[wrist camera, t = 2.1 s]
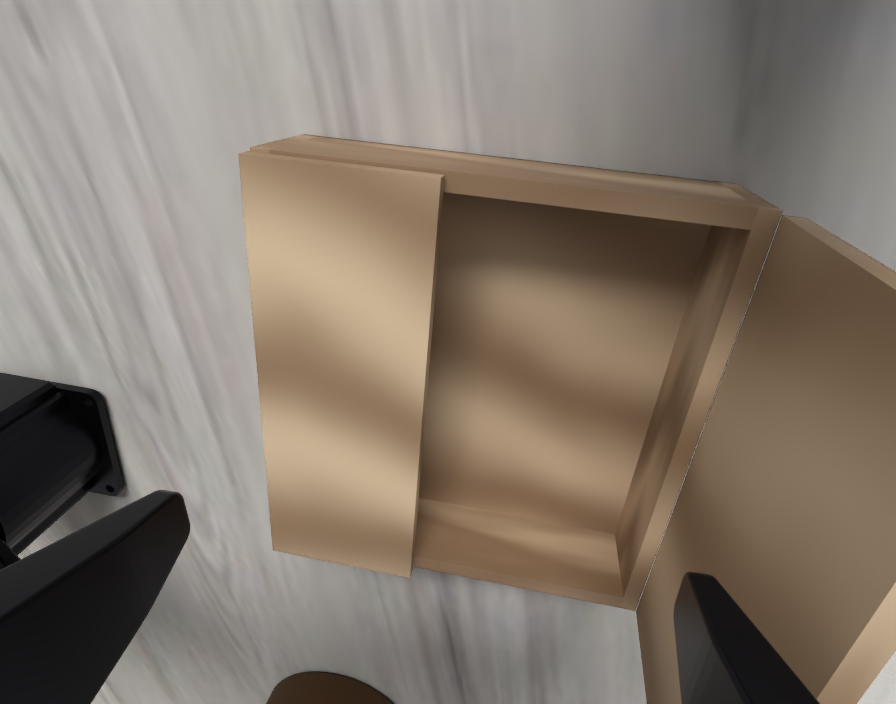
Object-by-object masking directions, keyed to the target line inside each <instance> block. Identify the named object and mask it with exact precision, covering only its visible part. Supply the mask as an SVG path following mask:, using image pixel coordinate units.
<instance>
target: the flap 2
mask: <svg viewBox="0 0 896 704" xmlns="http://www.w3.org/2000/svg"><path fill="white" fill-rule="evenodd" d="M689 571H691V572H698V573H704V574H710V575H712V576H713V577H715V578H716V579H717V580H718V581H719V583H720V584H721V585H722V586H723V587H724V589H725V590H726V591H727V592H728V593H729V595H730V596H731V597H732V598H733V599H734V601H735V602H736V603H737V604H738V605H739V607H740V608H741V609H742V610H743V611H744V613H745V614H746V615H747V616H748V617H749V619H750V620H751V621H752V622H753V623H754V625H755V626H756V627H757V628H758V629H759V631H760V632H761V633H762V634H763V635H764V637H765V638H766V639H767V640H768V641H769V643H770V644H771V645H772V646H773V647H774V649H775V650H776V651H777V652H778V653H779V655H780V656H781V657H782V658H783V659H784V661H785V662H786V663H787V664H788V665H789V667H790V668H791V669H792V670H793V671H794V673H795V674H796V675H797V676H798V677H799V679H800V680H801V681H802V682H803V683H804V685H805V686H806V687H807V688H808V689H809V691H810V692H811V693H812V694H813V695H814V697H815V698H816V699H817V700H818V701H819V703H820V704H857V702H858V701H859V700H860V698H861V697H862V696H863V694H864V693H865V692H866V690H867V689H868V688H869V686H870V685H871V683H872V682H873V681H874V679H875V678H876V677H877V675H878V674H879V673H880V671H881V670H882V669H883V667H884V666H885V665H886V663H887V662H888V660H889V659H890V658H891V656H892V655H893V654H894V652H895V651H896V272H895V271H893V270H891V269H890V268H888V267H886V266H885V265H883V264H882V263H880V262H878V261H877V260H875V259H873V258H872V257H870V256H868V255H867V254H865V253H863V252H862V251H860V250H858V249H857V248H855V247H853V246H852V245H850V244H848V243H847V242H845V241H843V240H842V239H840V238H839V237H837V236H835V235H834V234H832V233H830V232H829V231H827V230H825V229H824V228H822V227H820V226H819V225H817V224H815V223H814V222H812V221H810V220H809V219H807V218H800V217H792V216H784V215H783V216H782V218H781V221H780V224H779V227H778V229H777V232H776V235H775V237H774V240H773V243H772V245H771V248H770V251H769V254H768V256H767V259H766V262H765V264H764V267H763V270H762V273H761V275H760V278H759V281H758V283H757V286H756V289H755V291H754V294H753V297H752V300H751V302H750V305H749V308H748V310H747V313H746V316H745V318H744V321H743V324H742V327H741V329H740V332H739V335H738V337H737V340H736V343H735V346H734V348H733V351H732V354H731V356H730V359H729V362H728V364H727V367H726V370H725V373H724V375H723V378H722V381H721V383H720V386H719V389H718V391H717V394H716V397H715V400H714V402H713V405H712V408H711V410H710V413H709V416H708V419H707V421H706V424H705V427H704V429H703V432H702V435H701V437H700V440H699V443H698V446H697V448H696V451H695V454H694V456H693V459H692V462H691V464H690V467H689V470H688V473H687V475H686V478H685V481H684V483H683V486H682V489H681V492H680V494H679V497H678V500H677V502H676V505H675V508H674V510H673V513H672V516H671V519H670V521H669V524H668V527H667V529H666V532H665V535H664V537H663V540H662V543H661V546H660V548H659V551H658V554H657V556H656V559H655V562H654V565H653V567H652V570H651V573H650V575H649V578H648V581H647V583H646V586H645V589H644V592H643V594H642V597H641V600H640V602H639V605H638V608H637V611H636V614H637V622H638V631H639V640H640V648H641V657H642V665H643V674H644V682H645V691H646V700H647V704H682V703H681V693H680V683H679V672H678V662H677V651H676V641H675V630H674V619H673V611H674V604H675V601H676V597H677V594H678V591H679V588H680V585H681V582H682V578H683V576H684V574H685V573H686V572H689Z"/></svg>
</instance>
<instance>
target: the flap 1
mask: <svg viewBox="0 0 896 704" xmlns="http://www.w3.org/2000/svg"><path fill="white" fill-rule="evenodd" d="M239 166H240V177H241V189H242V200H243V212H244V223H245V235H246V246H247V258H248V269H249V281H250V292H251V304H252V315H253V327H254V338H255V350H256V361H257V373H258V384H259V396H260V407H261V419H262V430H263V442H264V453H265V465H266V476H267V488H268V499H269V511H270V523H271V534H272V546H273V550H274V551H279V552H284V553H289V554H294V555H299V556H304V557H309V558H313V559H318V560H323V561H328V562H333V563H338V564H343V565H348V566H353V567H358V568H363V569H368V570H372V571H377V572H382V573H387V574H392V575H397V576H402V577H407V578H410V576H411V572H412V569H413V562H414V549H415V537H416V524H417V512H418V500H419V487H420V475H421V462H422V450H423V438H424V425H425V413H426V400H427V388H428V376H429V363H430V351H431V338H432V326H433V314H434V301H435V289H436V276H437V264H438V252H439V239H440V227H441V214H442V202H443V190H444V177H445V175H442V174H434V173H426V172H417V171H409V170H401V169H392V168H384V167H376V166H367V165H359V164H350V163H342V162H334V161H325V160H317V159H309V158H300V157H292V156H284V155H275V154H267V153H259V152H250V151H248V152H244V153H240V154H239Z"/></svg>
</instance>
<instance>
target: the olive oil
mask: <svg viewBox="0 0 896 704" xmlns="http://www.w3.org/2000/svg"><path fill="white" fill-rule="evenodd" d="M266 704H393V703H392V702H391V701H390V700H389V699H387V698H386V697H385V696H384V695H382V694H381V693H380V692H378V691H377V690H375V689H373V688H372V687H370V686H368V685H366V684H364V683H362V682H359V681H357V680H354V679H352V678H349V677H345V676H342V675H337V674H332V673H325V672H305V673H299V674H295V675H292V676H290V677H288V678H286V679H284V680H282V681H281V682H280V683H278V684H277V686H276V687H275V688H274V690H273V691H272V693H271V695H270V697H269V699H268V701H267V703H266Z"/></svg>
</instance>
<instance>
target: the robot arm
mask: <svg viewBox="0 0 896 704" xmlns="http://www.w3.org/2000/svg"><path fill="white" fill-rule="evenodd" d="M123 489H124V484H123V480H122V476H121V471H120V467H119V463H118V459H117V455H116V451H115V447H114V443H113V439H112V435H111V431H110V426H109V422H108V418H107V414H106V410H105V406H104V402H103V398H102V396H101V395H100V394H99V392H97V391H96V390H93V389H90V388H84V387H78V386H73V385H67V384H61V383H56V382H50V381H45V380H39V379H33V378H28V377H22V376H16V375H11V374H5V373H0V704H91V702H92V701H93V699H94V698H95V696H96V695H97V693H98V691H99V690H100V688H101V687H102V685H103V684H104V682H105V681H106V679H107V677H108V676H109V674H110V673H111V671H112V670H113V668H114V667H115V665H116V663H117V662H118V660H119V659H120V657H121V656H122V654H123V653H124V651H125V649H126V648H127V646H128V645H129V643H130V642H131V640H132V639H133V637H134V635H135V634H136V632H137V631H138V629H139V628H140V626H141V624H142V623H143V621H144V620H145V618H146V616H147V615H148V613H149V611H150V609H151V608H152V606H153V604H154V602H155V600H156V598H157V596H158V594H159V593H160V591H161V589H162V587H163V585H164V583H165V581H166V579H167V577H168V575H169V573H170V571H171V569H172V567H173V566H174V564H175V562H176V560H177V558H178V556H179V554H180V552H181V550H182V548H183V546H184V544H185V542H186V541H187V538H188V536H189V533H190V521H189V518H188V514H187V510H186V506H185V502H184V499H183V496H182V495H181V494H180V493H178V492H173V491H166V490H158V491H155V492H153V493H151V494H149V495H147V496H145V497H143V498H141V499H139V500H137V501H135V502H133V503H131V504H129V505H127V506H125V507H123V508H121V509H119V510H117V511H116V512H114V513H112V514H110V515H108V516H106V517H104V518H102V519H100V520H98V521H96V522H94V523H92V524H90V525H88V526H86V527H84V528H82V529H80V530H78V531H76V532H74V533H72V534H70V535H68V536H66V537H64V538H62V539H60V540H59V541H57V542H55V543H53V544H51V545H49V546H47V547H45V548H43V549H41V550H39V551H37V552H35V553H33V554H31V555H29V556H27V557H25V558H23V559H20V558H19V557H18V556H17V555H19V554H20V553H21V552H22V551H23V550H24V549H25V548H26V547H27V546H29V545H30V544H31V543H32V542H33V541H34V540H35V539H36V538H37V537H39V536H40V535H41V534H42V533H43V532H44V531H45V530H46V529H47V528H49V527H50V526H51V525H52V524H53V523H54V522H55V521H56V520H58V519H59V518H60V517H61V516H62V515H63V514H64V513H65V512H66V511H68V510H69V509H70V508H71V507H72V506H73V505H74V504H75V503H76V502H78V501H79V500H80V499H81V498H82V497H83V496H84V495H85V494H86V493H88V492H89V491H90V492H95V493H100V494H105V495H110V496H116V495H118V494H119V493H120V492H121V491H122V490H123ZM673 619H674V630H675V641H676V651H677V662H678V672H679V683H680V693H681V703H682V704H820V703H819V701H818V700H817V699H816V698H815V697H814V695H813V694H812V693H811V692H810V691H809V689H808V688H807V687H806V686H805V685H804V683H803V682H802V681H801V680H800V679H799V677H798V676H797V675H796V674H795V673H794V671H793V670H792V669H791V668H790V667H789V665H788V664H787V663H786V662H785V661H784V659H783V658H782V657H781V656H780V655H779V653H778V652H777V651H776V650H775V649H774V647H773V646H772V645H771V644H770V643H769V641H768V640H767V639H766V638H765V637H764V635H763V634H762V633H761V632H760V631H759V629H758V628H757V627H756V626H755V625H754V623H753V622H752V621H751V620H750V619H749V617H748V616H747V615H746V614H745V613H744V611H743V610H742V609H741V608H740V607H739V605H738V604H737V603H736V602H735V601H734V599H733V598H732V597H731V596H730V595H729V593H728V592H727V591H726V590H725V589H724V587H723V586H722V585H721V584H720V583H719V581H718V580H717V579H716V578H715V577H713V576H712V575H710V574H704V573H698V572H691V571H689V572H686V573H685V574H684V576H683V578H682V582H681V585H680V588H679V591H678V594H677V597H676V601H675V604H674V611H673Z"/></svg>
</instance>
